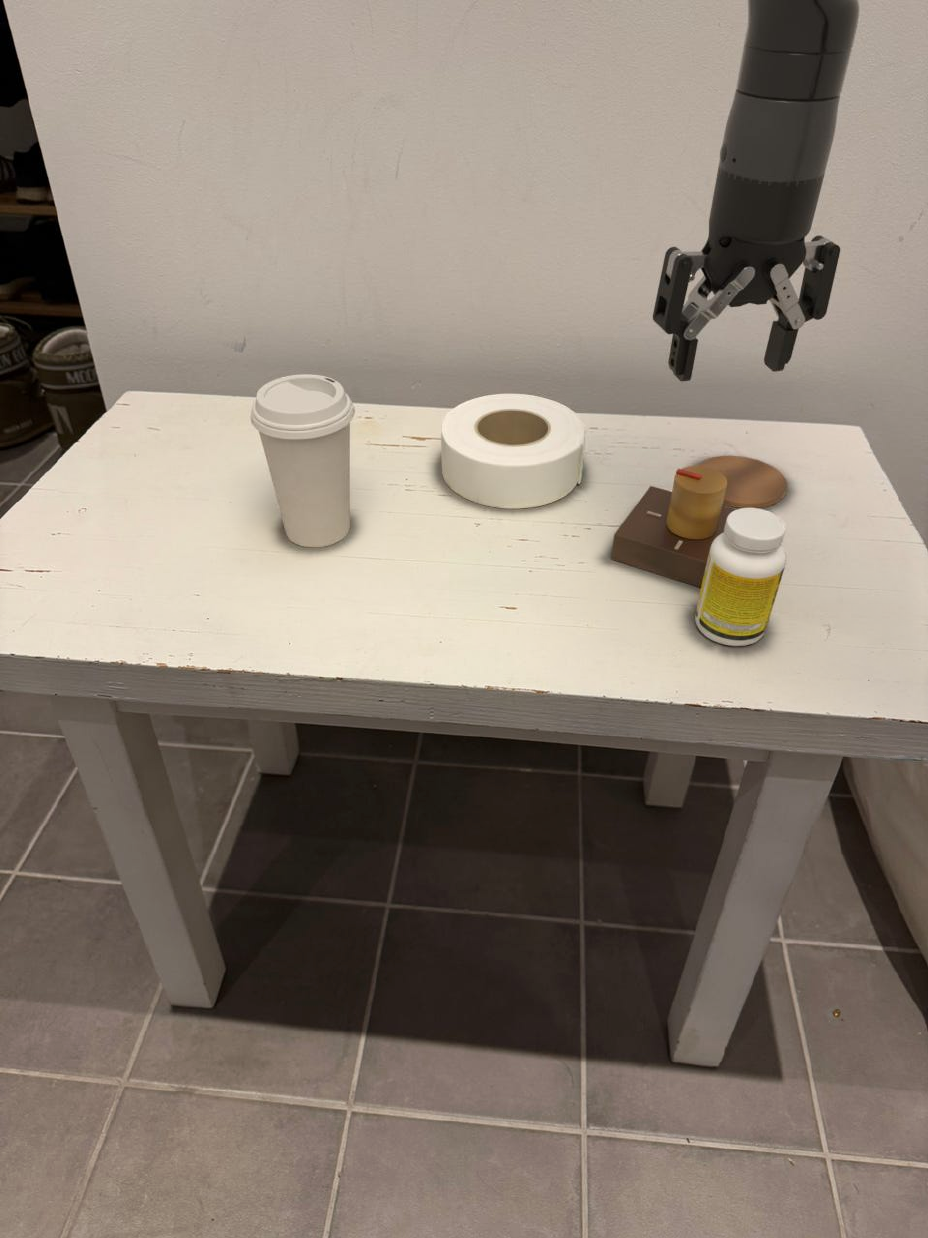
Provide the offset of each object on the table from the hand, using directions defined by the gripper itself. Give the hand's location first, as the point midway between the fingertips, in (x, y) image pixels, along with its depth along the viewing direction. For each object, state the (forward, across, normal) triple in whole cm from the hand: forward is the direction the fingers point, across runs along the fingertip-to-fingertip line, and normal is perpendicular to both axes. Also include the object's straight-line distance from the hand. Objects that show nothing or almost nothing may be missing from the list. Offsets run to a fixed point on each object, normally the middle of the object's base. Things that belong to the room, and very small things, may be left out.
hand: (727, 372), depth 74 cm
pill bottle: (+19, -1, -11) cm, 22 cm away
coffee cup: (+19, -36, +12) cm, 42 cm away
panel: (+19, 0, 0) cm, 19 cm away
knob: (+16, 0, 0) cm, 16 cm away
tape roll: (+19, -13, +19) cm, 30 cm away
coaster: (+19, +11, +10) cm, 24 cm away
